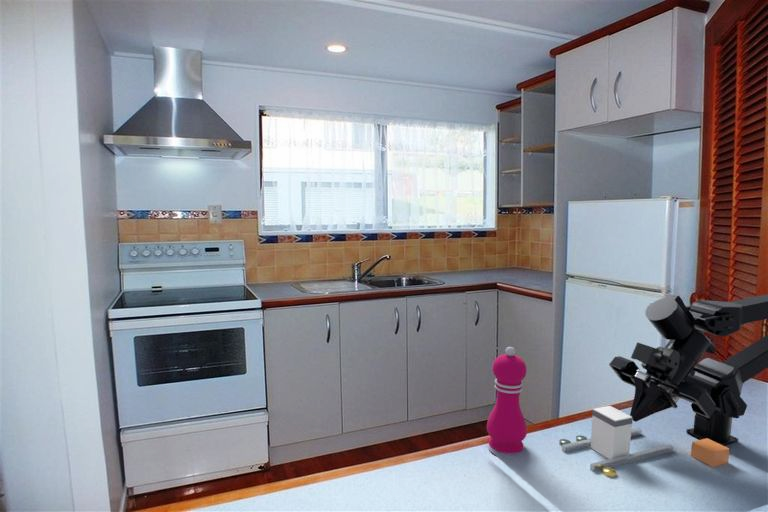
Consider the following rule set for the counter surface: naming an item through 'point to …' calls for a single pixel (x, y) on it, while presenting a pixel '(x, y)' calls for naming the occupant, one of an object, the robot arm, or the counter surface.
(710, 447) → the orange cube
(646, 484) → the counter surface
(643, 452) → the panel
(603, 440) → the plate
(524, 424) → the pepper mill
